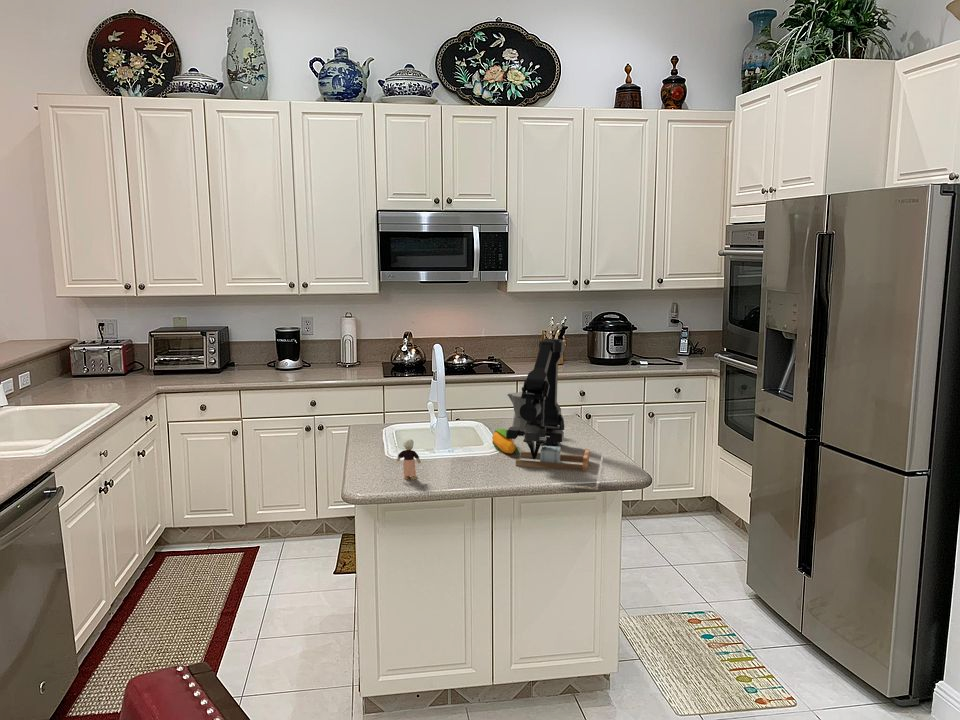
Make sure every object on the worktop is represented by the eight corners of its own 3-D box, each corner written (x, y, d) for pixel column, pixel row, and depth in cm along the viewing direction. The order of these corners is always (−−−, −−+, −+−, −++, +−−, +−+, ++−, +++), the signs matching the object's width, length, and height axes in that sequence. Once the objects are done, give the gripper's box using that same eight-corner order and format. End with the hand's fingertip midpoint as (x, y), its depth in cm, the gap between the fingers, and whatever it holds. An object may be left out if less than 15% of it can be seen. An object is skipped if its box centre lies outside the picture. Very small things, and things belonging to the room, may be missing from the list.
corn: (507, 423, 264) (523, 437, 245) (508, 443, 266) (524, 459, 246) (488, 425, 263) (502, 440, 243) (489, 445, 264) (503, 461, 245)
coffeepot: (503, 433, 280) (503, 388, 277) (510, 427, 289) (511, 383, 286) (541, 437, 275) (542, 391, 272) (547, 431, 284) (548, 386, 281)
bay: (521, 458, 247) (521, 444, 246) (588, 463, 242) (589, 449, 242) (515, 468, 236) (515, 453, 235) (586, 473, 231) (586, 458, 231)
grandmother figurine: (421, 476, 227) (421, 437, 225) (420, 480, 223) (420, 440, 221) (396, 476, 227) (396, 437, 225) (395, 480, 223) (395, 440, 221)
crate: (542, 459, 243) (542, 445, 242) (560, 461, 242) (560, 446, 241) (540, 465, 237) (540, 450, 236) (558, 466, 236) (558, 451, 235)
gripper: (503, 417, 232) (502, 464, 235) (560, 421, 228) (559, 468, 231) (509, 410, 243) (508, 454, 245) (564, 413, 239) (563, 458, 241)
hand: (534, 459), depth 240 cm, fingers closed
